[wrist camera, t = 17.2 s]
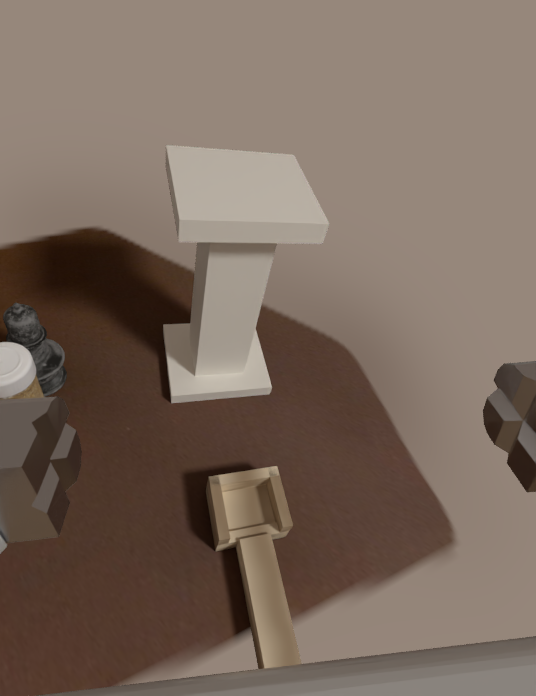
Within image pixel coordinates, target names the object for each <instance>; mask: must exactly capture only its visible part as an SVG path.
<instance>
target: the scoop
mask: <svg viewBox="0 0 536 696" xmlns="http://www.w3.org/2000/svg"><path fill="white" fill-rule="evenodd" d="M206 496H207V502H208V508H209V514H210V521H211V527H212V533H213V540H214V546H215V551H220V550H225V549H230V548H235V547H236V550H237V556H238V561H239V566H240V572H241V577H242V582H243V588H244V593H245V598H246V604H247V609H248V615H249V620H250V625H251V631H252V636H253V641H254V647H255V652H256V657H257V663H258V668H259V669H265V668H273V667H281V666H290V665H298V664H301V660H300V656H299V651H298V647H297V643H296V639H295V634H294V630H293V626H292V622H291V617H290V613H289V609H288V605H287V600H286V596H285V592H284V588H283V583H282V579H281V575H280V571H279V567H278V562H277V558H276V554H275V550H274V545H273V541H272V540H273V539H278V538H283V537H285V536H286V535H287V533H288V532H289V531H290V529H291V528H292V526H293V524H292V520H291V516H290V513H289V509H288V505H287V502H286V498H285V494H284V490H283V487H282V483H281V479H280V475H279V472H278V468H277V466H274V467H267V468H261V469H255V470H248V471H242V472H235V473H229V474H222V475H216V476H209V478H208V482H207V487H206Z"/></svg>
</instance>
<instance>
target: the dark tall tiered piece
mask: <svg viewBox="0 0 536 696" xmlns="http://www.w3.org/2000/svg"><path fill="white" fill-rule="evenodd" d="M3 320H4V323H5V325H6V328H7V330H8V334H7V337H6V339H7V342H12V343H17V344H20V345H22V346H24V347H25V348H26V349H27V350H28V351H29V352H30V353H31V355H32V358H33V361H34V363H35V366H36V376H37V379H38V382H39V384H40V387H41V390H42V392H43V395H44V397H45V396H48V395H51V394H53V393H55V392H56V391H58V390H59V389H60V388H61V387H62V386H63V384H64V383H65V381H66V377H67V375H66V370H65V368H64V366H63V362H64V359H65V355H64V351H63V349H62V347H61V346H60V345H59V344H58V343H56V342H54V341H53V340H49V339H46V336H47V332H46V330H45V328H44V327H43V326H42V325H40V323H39V320H38V316H37V313H36V311H35V310H34V309H33V308H32V307H30V306H28V305H24V304H18V303H15V304H14V305H13V306H11V307H10V308H8V309H7V310H6V311H5V313H4V315H3Z"/></svg>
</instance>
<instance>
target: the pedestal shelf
mask: <svg viewBox="0 0 536 696" xmlns="http://www.w3.org/2000/svg"><path fill="white" fill-rule="evenodd" d="M166 171H167V177H168V183H169V189H170V195H171V201H172V206H173V212H174V218H175V224H176V230H177V235H178V241H179V242H197V251H196V262H195V274H194V286H193V298H192V310H191V321H190V323H187V324H163V336H164V345H165V353H166V362H167V371H168V380H169V388H170V397H171V403H180V402H190V401H201V400H212V399H222V398H233V397H244V396H255V395H265V394H270V392H271V389H272V385H271V382H270V378H269V375H268V371H267V368H266V364H265V361H264V357H263V353H262V350H261V346H260V343H259V339H258V336H257V332H256V329H255V328H256V324H257V320H258V316H259V312H260V308H261V304H262V300H263V296H264V292H265V288H266V284H267V280H268V277H269V273H270V269H271V264H272V261H273V257H274V253H275V249H276V245H277V243H296V244H298V243H299V244H300V243H301V244H322V243H323V241H324V238H325V235H326V232H327V229H328V226H329V222H328V220H327V218H326V216H325V215H324V212H323V211H322V209H321V207H320V205H319V203H318V201H317V199H316V197H315V195H314V193H313V191H312V189H311V187H310V186H309V183H308V181H307V180H306V178H305V176H304V174H303V172H302V170H301V168H300V166H299V164H298V162H297V160H296V158H295V156H294V155H290V154H277V153H263V152H251V151H237V150H225V149H211V148H198V147H185V146H184V147H183V146H172V145H166Z"/></svg>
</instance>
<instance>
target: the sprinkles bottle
mask: <svg viewBox="0 0 536 696" xmlns="http://www.w3.org/2000/svg"><path fill="white" fill-rule="evenodd" d="M43 397H44V395H43V392H42V390H41V387H40V384H39V382H38V379H37V376H36V366H35V363H34V361H33V358H32V355H31V353H30V352H29V351H28V350H27V349H26V348H25V347H24V346H22V345H20V344H17V343H12V342H0V400H4V399H24V398H43Z"/></svg>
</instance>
